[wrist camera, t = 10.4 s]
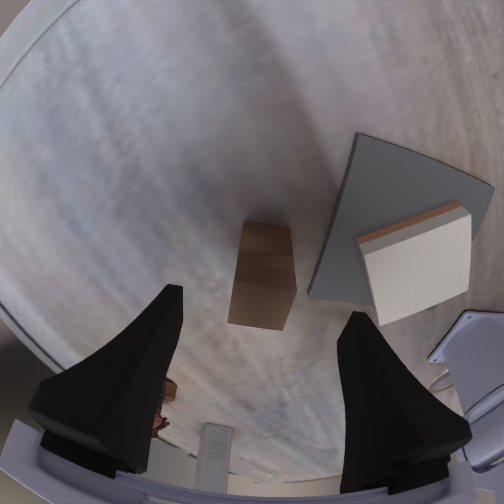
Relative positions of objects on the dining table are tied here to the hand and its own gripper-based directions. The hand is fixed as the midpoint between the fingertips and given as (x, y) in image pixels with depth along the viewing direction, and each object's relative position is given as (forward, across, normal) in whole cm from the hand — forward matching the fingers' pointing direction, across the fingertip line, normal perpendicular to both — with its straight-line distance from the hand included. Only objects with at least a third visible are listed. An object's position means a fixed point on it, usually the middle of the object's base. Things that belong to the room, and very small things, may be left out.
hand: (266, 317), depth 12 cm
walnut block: (+8, 0, +2) cm, 8 cm away
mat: (+8, -10, -1) cm, 13 cm away
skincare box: (+8, +1, +37) cm, 38 cm away
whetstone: (+6, -13, +3) cm, 15 cm away
